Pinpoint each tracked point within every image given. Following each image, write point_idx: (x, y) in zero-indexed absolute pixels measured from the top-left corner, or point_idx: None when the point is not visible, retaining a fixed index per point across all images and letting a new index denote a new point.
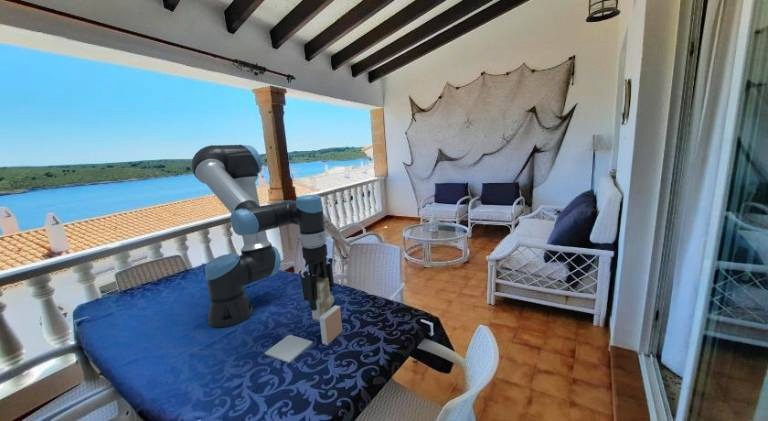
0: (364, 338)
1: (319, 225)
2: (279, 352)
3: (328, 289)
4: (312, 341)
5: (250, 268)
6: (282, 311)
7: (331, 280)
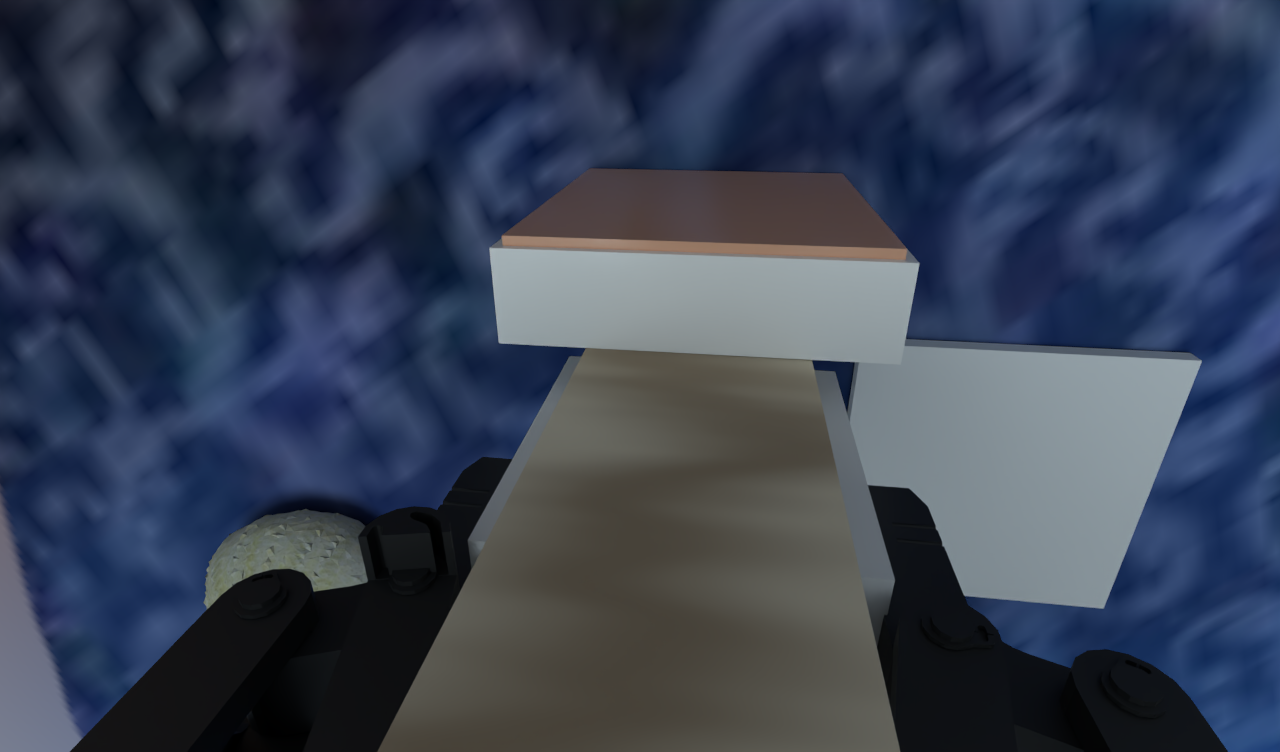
0: None
1: None
2: (1084, 510)
3: (510, 582)
4: None
5: None
6: None
7: (182, 736)
